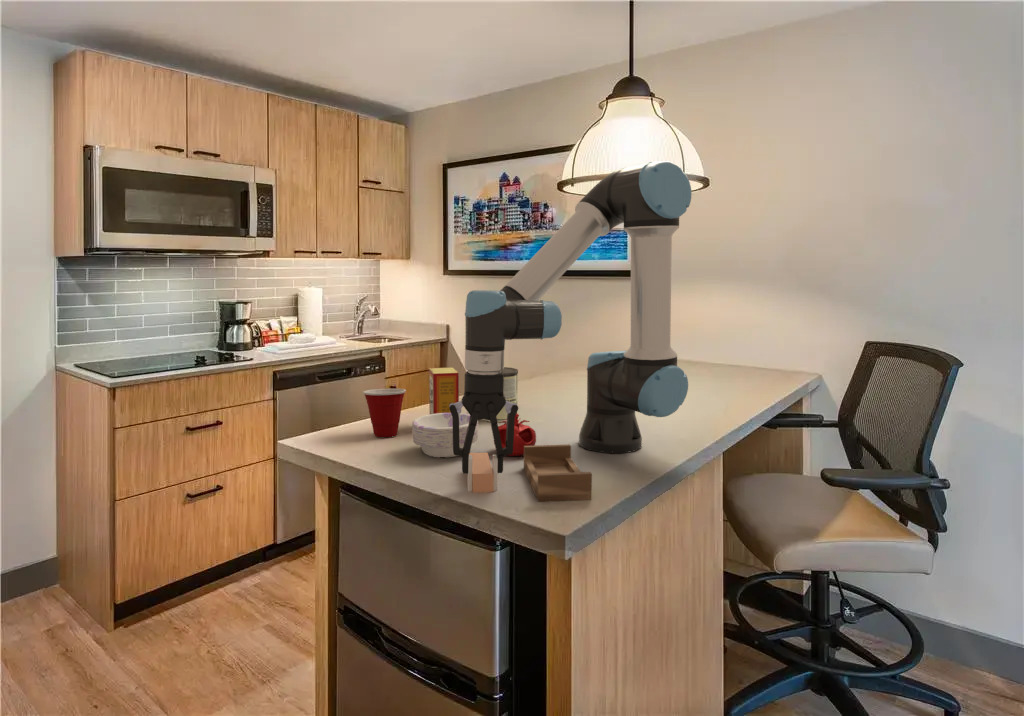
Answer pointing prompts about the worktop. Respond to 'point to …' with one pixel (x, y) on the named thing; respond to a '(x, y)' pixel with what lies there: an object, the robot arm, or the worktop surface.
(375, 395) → the plastic cup
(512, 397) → the coffee can
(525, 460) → the wooden crate tray
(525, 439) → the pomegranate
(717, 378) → the worktop surface
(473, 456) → the orange rectangular block
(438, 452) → the paper bowls
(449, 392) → the baking soda box
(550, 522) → the worktop surface
